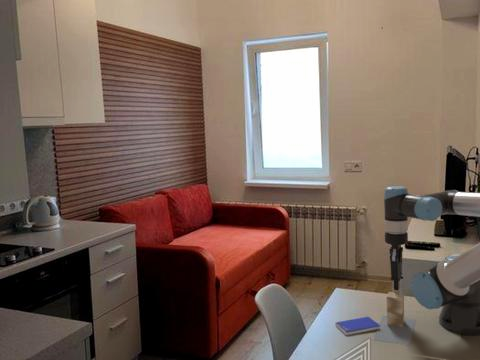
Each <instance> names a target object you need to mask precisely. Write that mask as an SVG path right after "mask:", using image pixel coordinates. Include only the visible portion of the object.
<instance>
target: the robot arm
mask: <svg viewBox="0 0 480 360" xmlns="http://www.w3.org/2000/svg"><path fill="white" fill-rule="evenodd" d="M383 196H384V197H383V202H384V203H383V204H384V221H383V222H382V224H383V225H384V231H385V232H384V242H385V244H388V245H390V248H389V254H390V255H389V262H390V276H391V277H390V278H389V280H390V281H391V282H392V283H391V288H392V289H391V292H396V293H402V280H403V279H404V276H403V273H402V272H403V252H404V247H403V245H406V244H408V242H409V233H408V231H409V218H411V219H416V220H420V221H425V222H426V221H428V222H429V221H430V222H435V221H437V220H438V218H440V216H443V215H444V216H445V215H455V216H456V215H457V216H458V215H459V216H469V217H479V218H480V192H470V191H469V192H468V191H467V192H466V191H459V190H456V189H447V190H443V191H438V192H433V193H428V194H423V195H422V194H421V195H417V194H410V193H409V192H408V188H407V187H405V186H400V185H398V186H395V185H393V186H387V187H386V188H384V195H383ZM410 287H411V292H412V295H413V297H414V299H416V301H417V303H418V304H419V305H421V306H422V307H424V308H425V309H427V310H437V309H441V311H440V312H439V316H438V323H439V325H440V326H441V327H442V328H443V329H445V330H447V331H450V332H453V333H456V334H460V335H464V336H465V335H467V336H479V335H480V242H478V243H477V244H474V246H472V247H469V249H467V250H465V251H464V252H463V253H461V254H460V255H457V256H456V255H449V256H446V257H445V258H444V259H443V260H441V261H439V262H437V263H435V264H434V265H433V266H432V267H430V268H428V269H425V270H421V271H418V272H417V273H415V274H414V275H413V277H412V279H411V286H410Z"/></svg>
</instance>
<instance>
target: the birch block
mask: <svg viewBox="0 0 480 360" xmlns="http://www.w3.org/2000/svg"><path fill="white" fill-rule="evenodd" d="M386 316H387V325H390V326H398V327H403V324H404V318H405V293H404V292H401V293H396V292H392V291H388V293H387V295H386Z"/></svg>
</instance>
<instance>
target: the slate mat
mask: <svg viewBox="0 0 480 360" xmlns="http://www.w3.org/2000/svg"><path fill="white" fill-rule="evenodd" d="M380 319H381V320H380V322H379V323H378V324H379V325H380V329H376V332H375V335H374V337H373V341H375V342H376V341H377V342H383V343H391V344H397V345H404V346H411V342H412V337H413V333H414V328H415V325H416V319H414V318H405V317H404V324H403V327H398V326H390V325H387V315H382V316H381V318H380Z"/></svg>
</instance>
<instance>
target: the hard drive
mask: <svg viewBox="0 0 480 360" xmlns="http://www.w3.org/2000/svg"><path fill="white" fill-rule="evenodd" d="M379 324H380V323H378V322H376V321H375V319H372V318H371V317H370V316H365V317H364V316H363V317H358V318H353V319H346V320H342V321H341V320H340V321H336V322H335V326H336V328H338V329H339V330H340V331H341V332H342V333H343V334H345V336H350V335H353V334H355V335H356V334H360V333H365V332H370V331H377V329H380V325H379Z"/></svg>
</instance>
